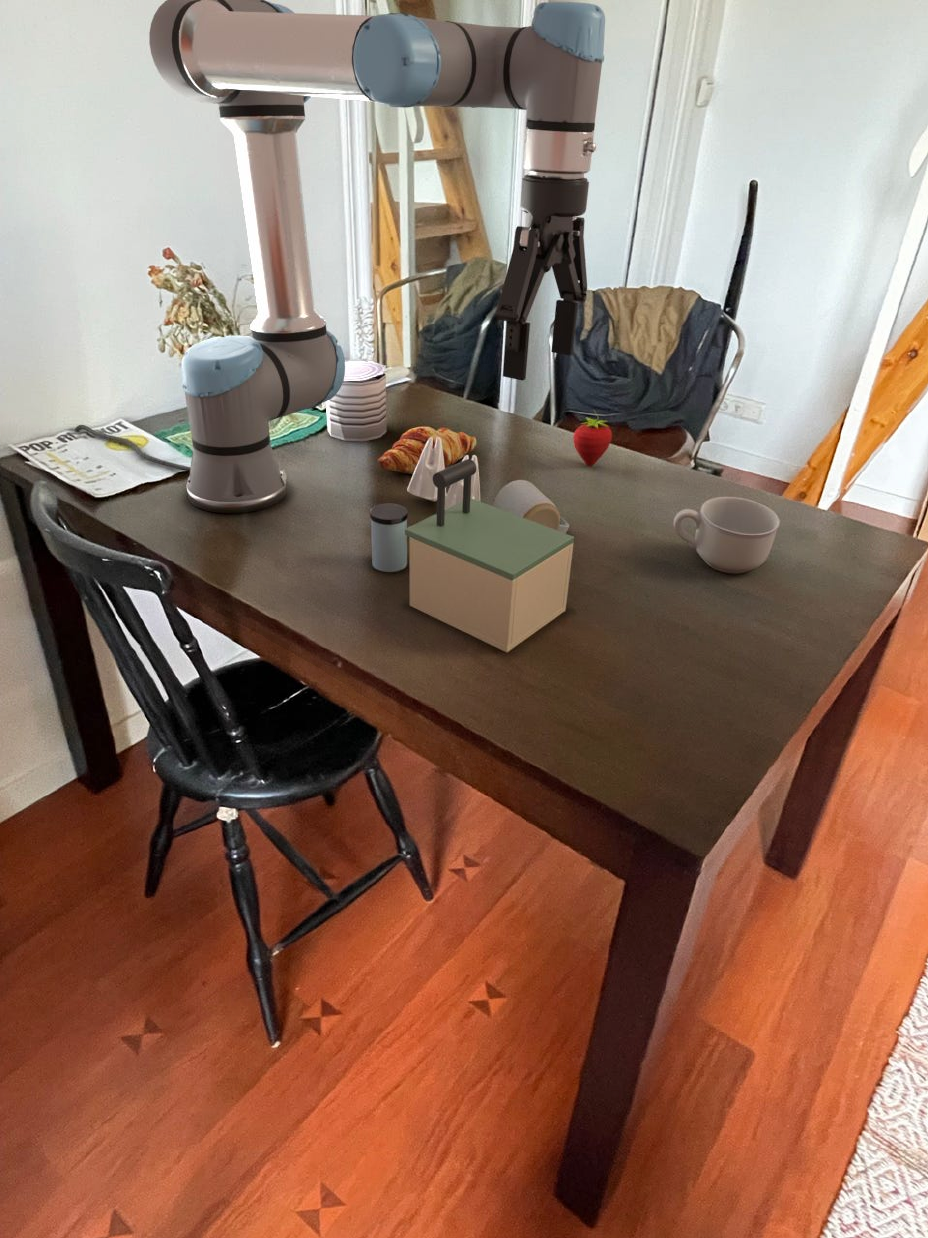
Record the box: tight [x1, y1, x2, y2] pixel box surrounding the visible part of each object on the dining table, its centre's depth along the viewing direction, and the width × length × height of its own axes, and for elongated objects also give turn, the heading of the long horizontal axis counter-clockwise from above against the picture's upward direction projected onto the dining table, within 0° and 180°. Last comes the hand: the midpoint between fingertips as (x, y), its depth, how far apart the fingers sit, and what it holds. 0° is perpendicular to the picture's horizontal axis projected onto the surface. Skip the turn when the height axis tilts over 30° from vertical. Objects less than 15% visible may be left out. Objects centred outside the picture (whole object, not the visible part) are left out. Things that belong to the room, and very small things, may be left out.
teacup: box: [672, 496, 781, 574], centre depth 117 cm, size 14×11×8 cm
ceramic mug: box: [493, 479, 570, 534], centre depth 122 cm, size 11×8×8 cm
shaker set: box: [407, 437, 481, 509], centre depth 128 cm, size 12×4×11 cm, turn 57°
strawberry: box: [572, 410, 613, 467], centre depth 145 cm, size 6×8×10 cm
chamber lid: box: [405, 458, 575, 580], centre depth 99 cm, size 16×13×8 cm
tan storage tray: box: [409, 537, 574, 653], centre depth 103 cm, size 16×13×10 cm
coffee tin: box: [369, 502, 409, 573], centre depth 113 cm, size 5×5×8 cm
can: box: [325, 360, 387, 442], centre depth 155 cm, size 11×11×12 cm
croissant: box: [377, 426, 477, 475], centre depth 144 cm, size 21×10×8 cm, turn 131°
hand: (539, 365), depth 104 cm, fingers open, 13 cm apart
